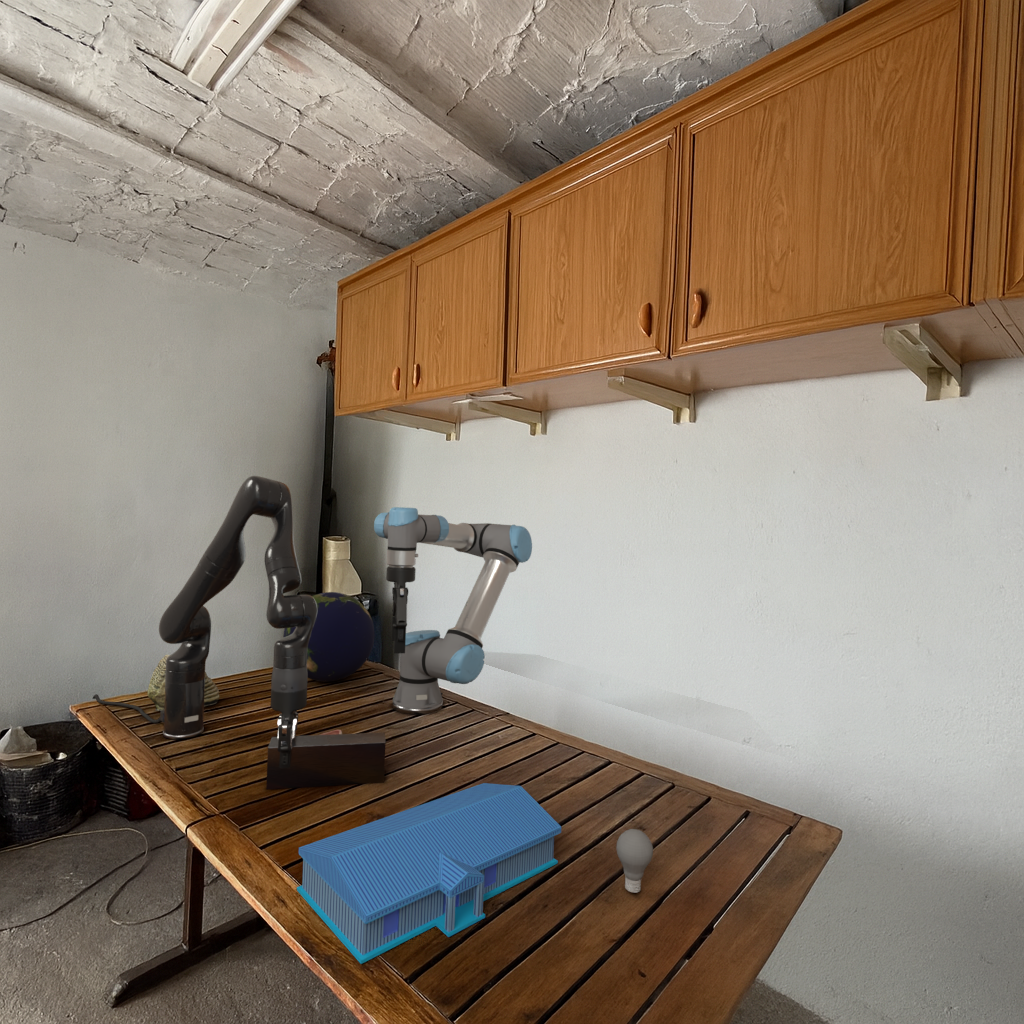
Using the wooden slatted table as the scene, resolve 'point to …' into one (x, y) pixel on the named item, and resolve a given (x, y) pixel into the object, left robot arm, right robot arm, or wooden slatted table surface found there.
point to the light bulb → (634, 857)
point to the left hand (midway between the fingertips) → (286, 760)
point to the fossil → (158, 687)
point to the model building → (426, 866)
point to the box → (328, 761)
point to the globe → (338, 637)
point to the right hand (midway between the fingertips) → (397, 646)
